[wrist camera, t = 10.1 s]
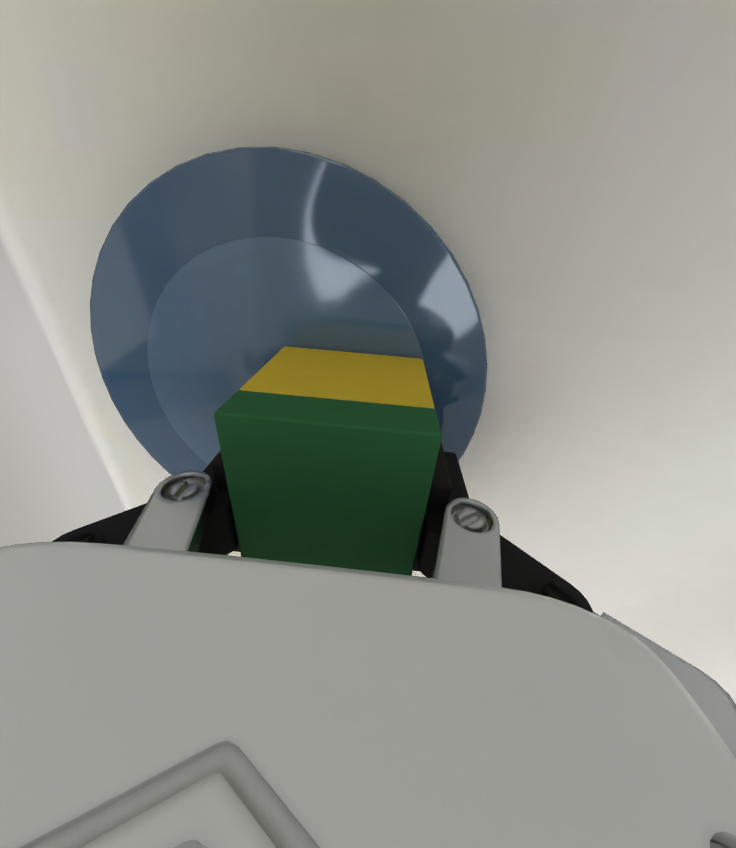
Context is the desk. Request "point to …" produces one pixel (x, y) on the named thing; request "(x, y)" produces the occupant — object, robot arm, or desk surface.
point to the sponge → (331, 459)
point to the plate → (272, 293)
